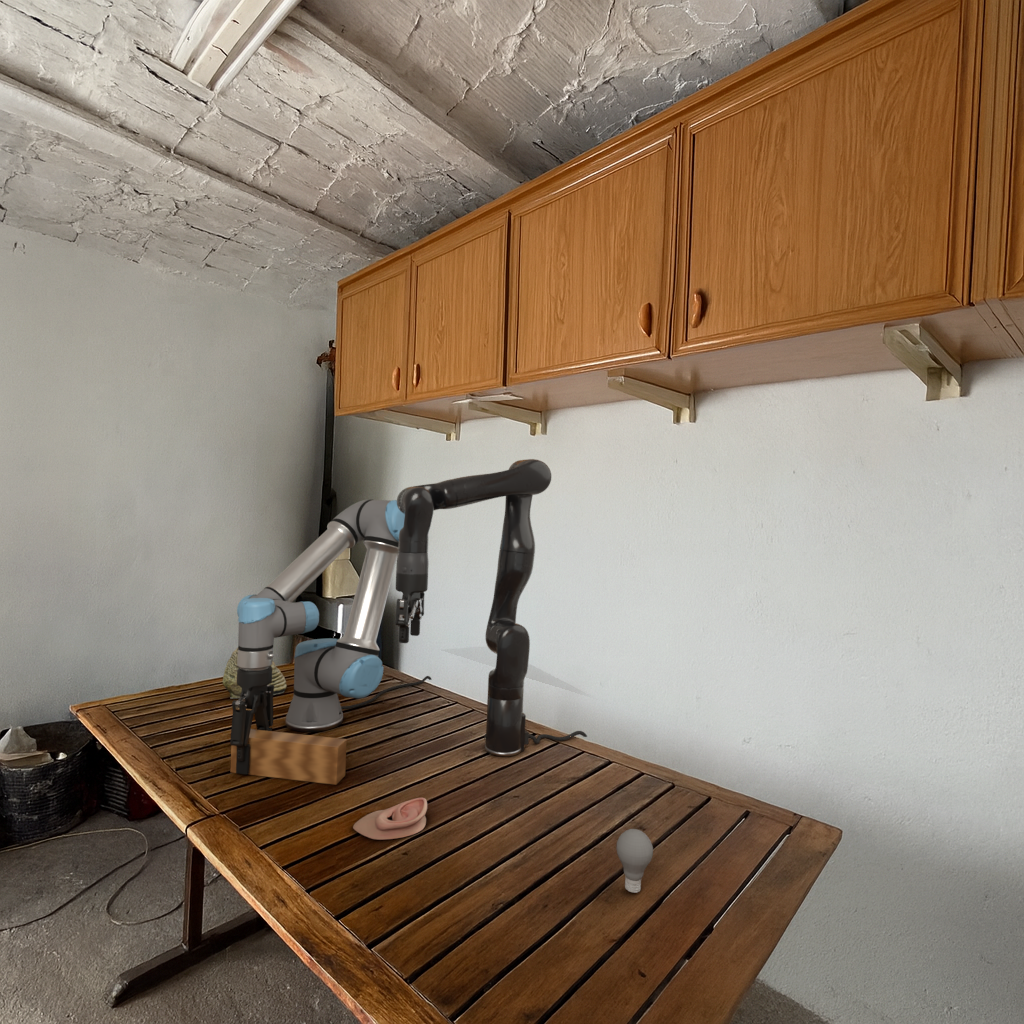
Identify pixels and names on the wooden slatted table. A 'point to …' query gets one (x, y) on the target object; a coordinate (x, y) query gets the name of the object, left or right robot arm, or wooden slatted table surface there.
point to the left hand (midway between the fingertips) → (251, 766)
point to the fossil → (231, 678)
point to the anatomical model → (394, 821)
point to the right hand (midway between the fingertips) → (409, 639)
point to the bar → (295, 756)
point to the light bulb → (634, 857)
